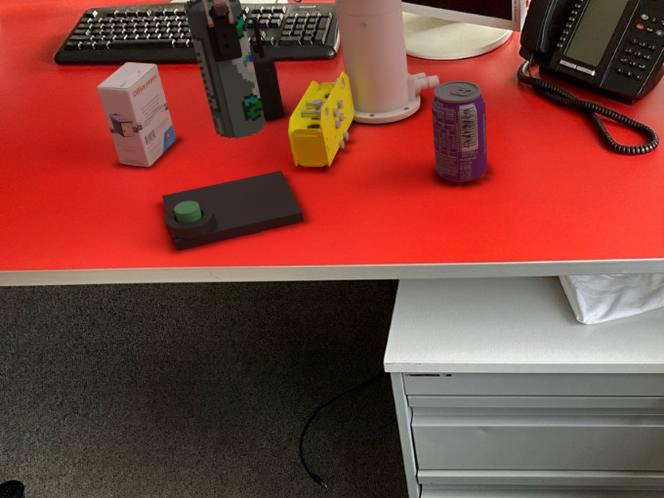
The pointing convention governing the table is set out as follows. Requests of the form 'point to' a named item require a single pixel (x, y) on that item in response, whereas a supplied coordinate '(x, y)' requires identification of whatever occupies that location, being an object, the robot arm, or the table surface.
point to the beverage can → (459, 131)
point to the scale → (233, 209)
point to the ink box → (137, 113)
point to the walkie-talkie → (266, 78)
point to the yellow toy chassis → (321, 122)
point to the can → (227, 77)
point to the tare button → (187, 212)
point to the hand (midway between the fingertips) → (222, 46)
